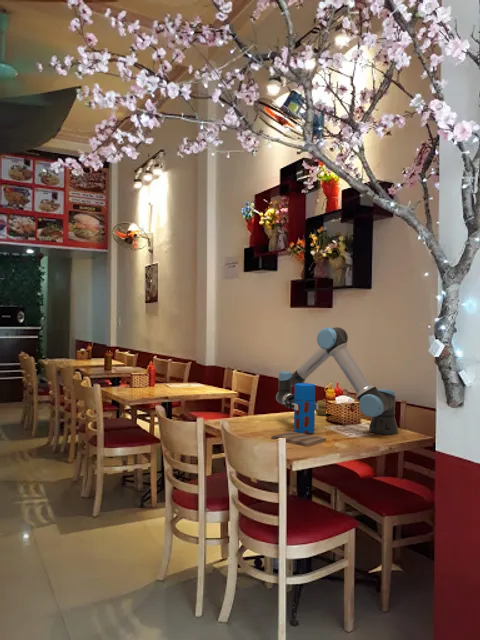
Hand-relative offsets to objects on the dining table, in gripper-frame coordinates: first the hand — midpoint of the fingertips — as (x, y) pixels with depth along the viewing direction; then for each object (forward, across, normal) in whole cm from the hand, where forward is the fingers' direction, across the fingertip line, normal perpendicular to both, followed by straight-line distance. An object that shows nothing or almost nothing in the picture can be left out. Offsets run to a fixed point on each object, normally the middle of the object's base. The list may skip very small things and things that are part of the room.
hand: (307, 407), depth 274 cm
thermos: (-4, 0, -14) cm, 14 cm away
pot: (-48, -34, -14) cm, 60 cm away
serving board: (+11, +10, -14) cm, 21 cm away
